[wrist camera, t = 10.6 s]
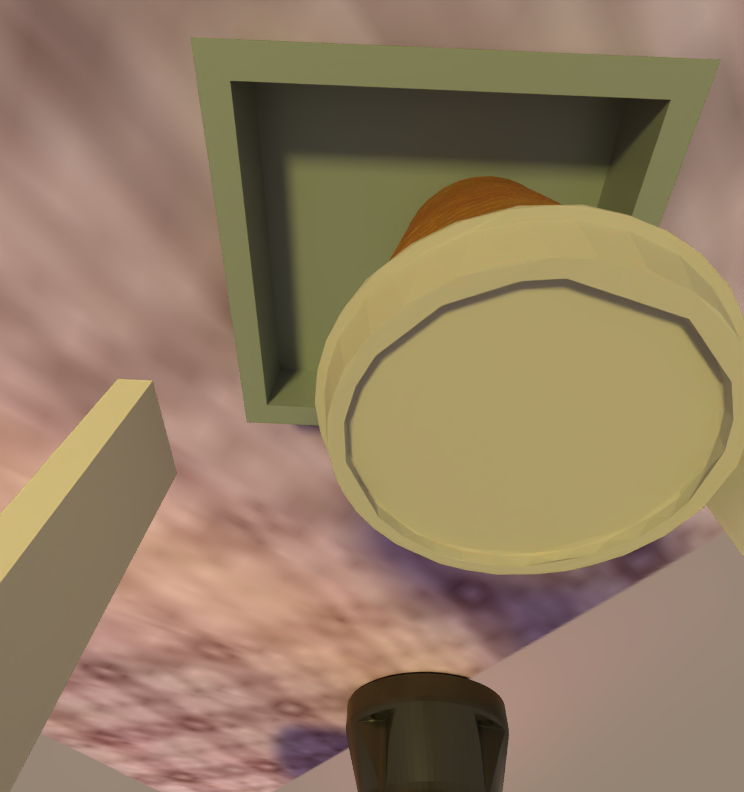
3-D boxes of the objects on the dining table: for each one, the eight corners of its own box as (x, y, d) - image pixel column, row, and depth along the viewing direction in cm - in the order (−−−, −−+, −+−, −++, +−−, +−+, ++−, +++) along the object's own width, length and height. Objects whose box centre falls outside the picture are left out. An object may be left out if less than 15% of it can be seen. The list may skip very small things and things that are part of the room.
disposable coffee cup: (645, 266, 20) (859, 479, 10) (457, 390, 24) (477, 624, 14) (507, 59, 16) (630, 74, 6) (316, 248, 20) (216, 429, 11)
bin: (555, 388, 25) (579, 439, 22) (266, 374, 25) (247, 422, 22) (657, 58, 17) (720, 59, 14) (229, 39, 17) (190, 37, 14)
